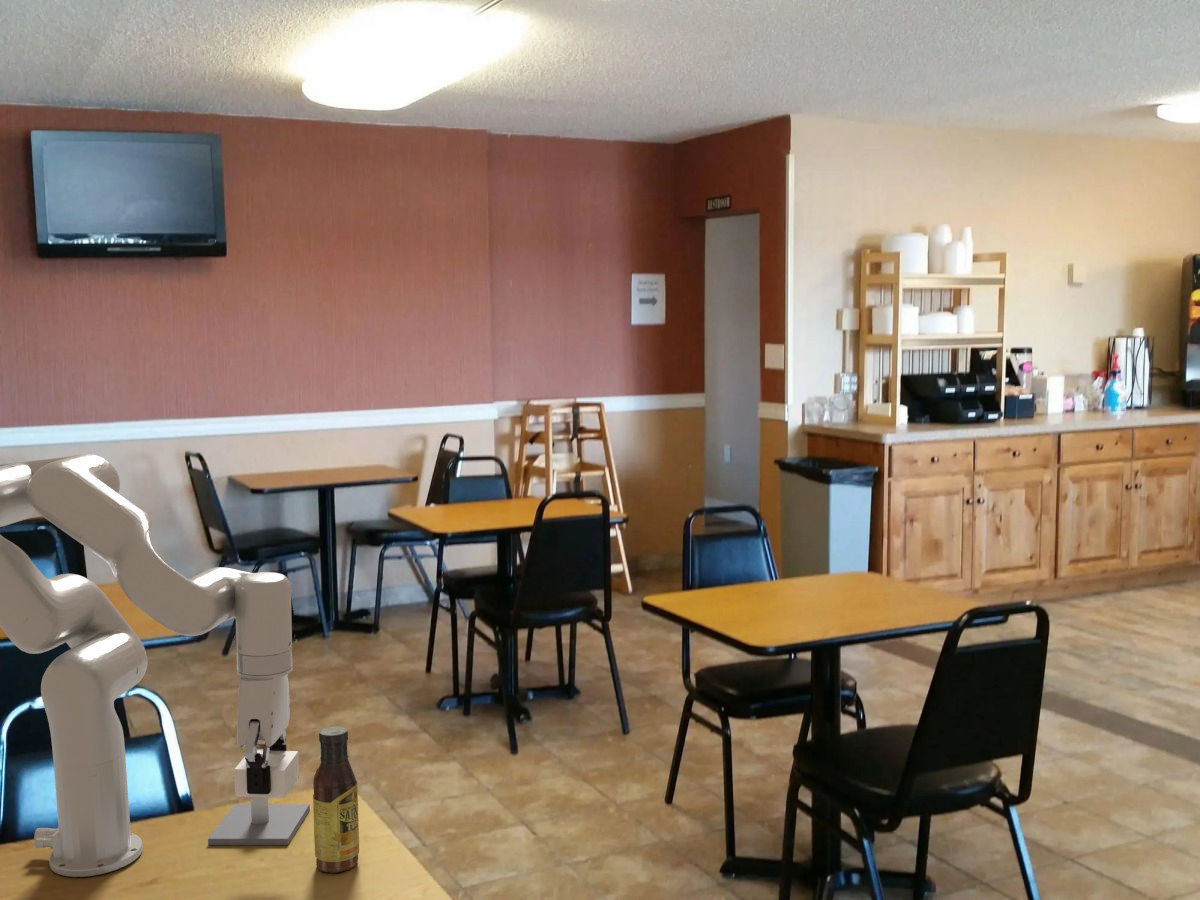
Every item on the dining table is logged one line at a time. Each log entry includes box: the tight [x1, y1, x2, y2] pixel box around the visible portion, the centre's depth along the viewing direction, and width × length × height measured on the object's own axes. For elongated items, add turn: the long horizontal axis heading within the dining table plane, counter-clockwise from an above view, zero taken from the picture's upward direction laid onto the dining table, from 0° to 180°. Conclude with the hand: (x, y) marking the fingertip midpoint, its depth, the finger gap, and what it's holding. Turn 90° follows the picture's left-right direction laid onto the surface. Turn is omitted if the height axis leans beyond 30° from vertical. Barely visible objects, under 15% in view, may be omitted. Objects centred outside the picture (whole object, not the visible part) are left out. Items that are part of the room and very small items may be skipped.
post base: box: [207, 797, 311, 846], centre depth 182 cm, size 12×12×7 cm
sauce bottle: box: [312, 725, 360, 874], centre depth 169 cm, size 7×6×20 cm
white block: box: [233, 749, 300, 799], centre depth 169 cm, size 7×7×4 cm
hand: (267, 781), depth 169 cm, fingers closed on white block, 7 cm apart
